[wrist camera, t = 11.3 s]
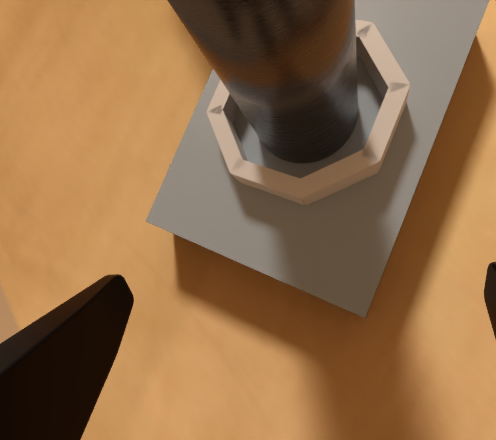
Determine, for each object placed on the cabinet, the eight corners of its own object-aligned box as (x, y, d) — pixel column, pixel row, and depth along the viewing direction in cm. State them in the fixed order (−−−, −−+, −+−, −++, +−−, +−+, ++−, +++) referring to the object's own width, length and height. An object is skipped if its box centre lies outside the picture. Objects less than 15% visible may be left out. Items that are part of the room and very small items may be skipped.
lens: (365, 152, 17) (371, -216, 5) (261, 172, 18) (57, -75, 6) (349, 58, 18) (320, -434, 6) (252, 83, 19) (65, -275, 7)
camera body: (364, 314, 18) (365, 320, 14) (172, 230, 23) (128, 215, 18) (475, 32, 19) (505, -41, 15) (272, 1, 24) (252, -63, 19)
